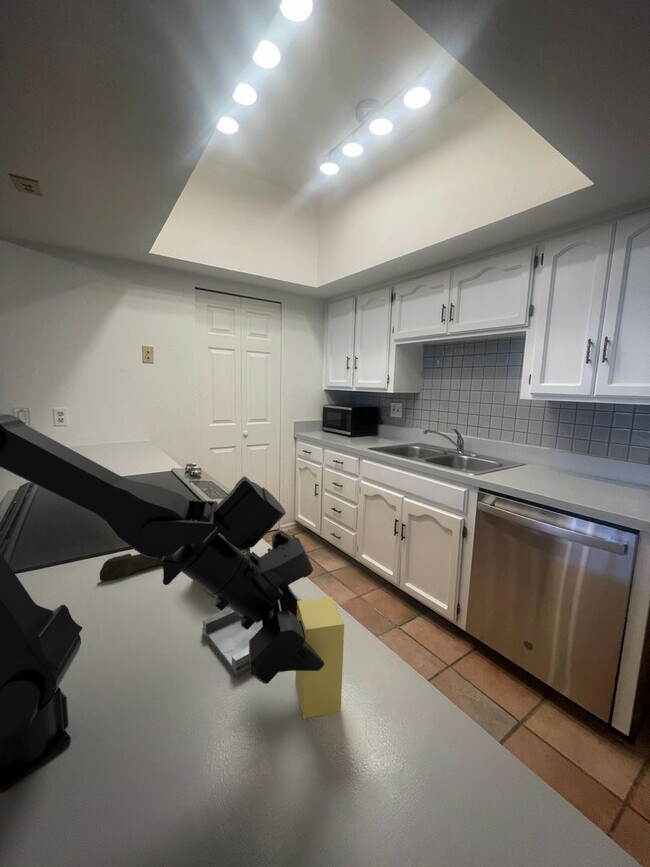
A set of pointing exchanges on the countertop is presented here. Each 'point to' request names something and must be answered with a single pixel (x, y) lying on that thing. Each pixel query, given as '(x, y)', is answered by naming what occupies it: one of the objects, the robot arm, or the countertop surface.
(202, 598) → the countertop surface
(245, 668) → the grey metal tray
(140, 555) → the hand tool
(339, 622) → the block
